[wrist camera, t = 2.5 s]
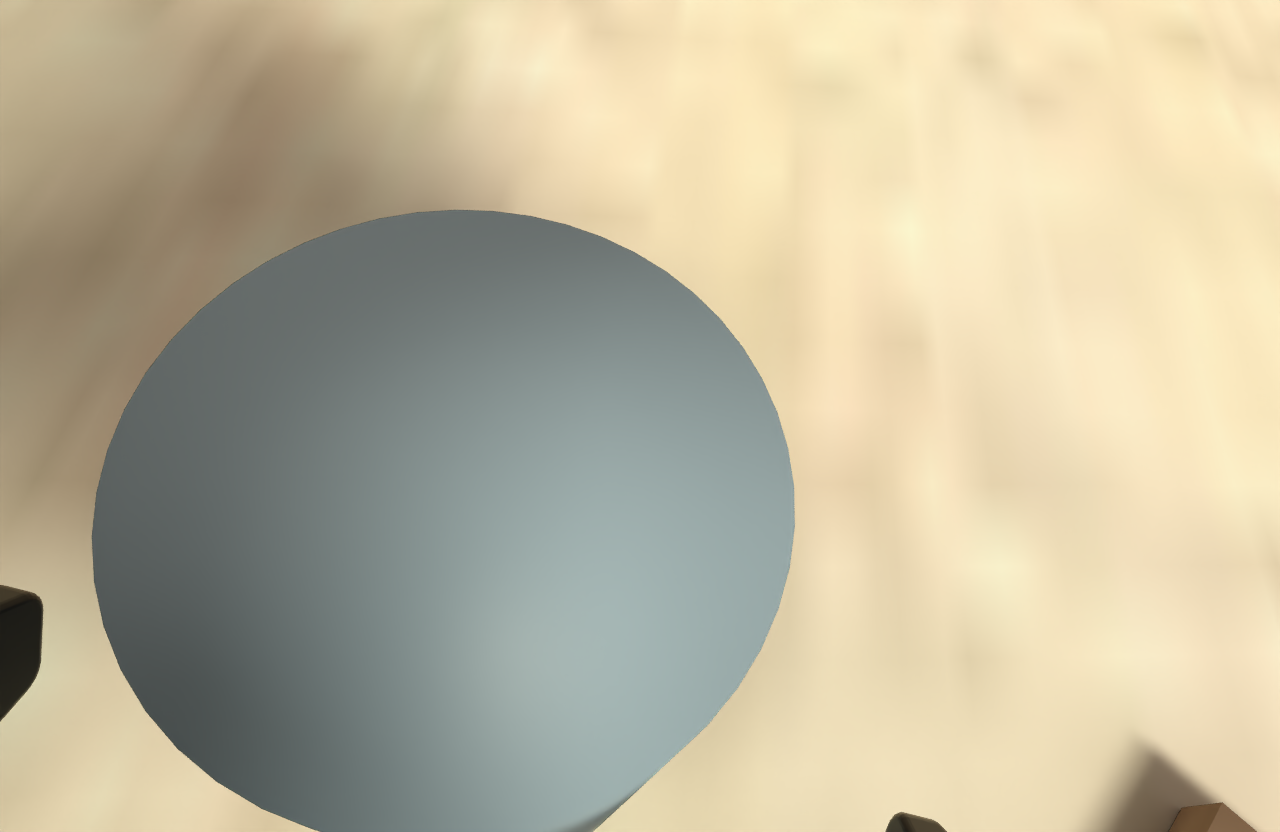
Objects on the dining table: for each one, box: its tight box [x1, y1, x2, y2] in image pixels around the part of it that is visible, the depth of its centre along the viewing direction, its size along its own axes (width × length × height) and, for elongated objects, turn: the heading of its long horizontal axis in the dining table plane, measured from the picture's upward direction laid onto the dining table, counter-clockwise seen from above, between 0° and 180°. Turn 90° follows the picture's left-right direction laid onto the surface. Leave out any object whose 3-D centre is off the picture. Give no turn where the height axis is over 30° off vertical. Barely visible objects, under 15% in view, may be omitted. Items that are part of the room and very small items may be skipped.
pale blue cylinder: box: [92, 210, 795, 832], centre depth 11 cm, size 4×4×13 cm
